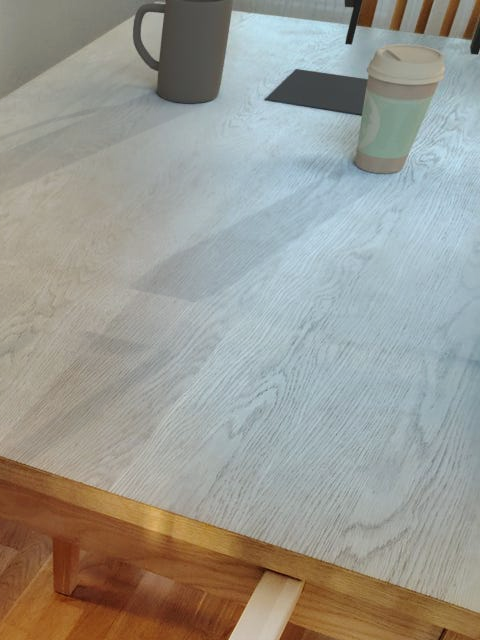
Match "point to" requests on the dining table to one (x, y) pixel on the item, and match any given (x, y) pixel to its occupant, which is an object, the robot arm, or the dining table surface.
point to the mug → (188, 47)
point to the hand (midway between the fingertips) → (410, 46)
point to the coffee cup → (396, 104)
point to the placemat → (322, 91)
